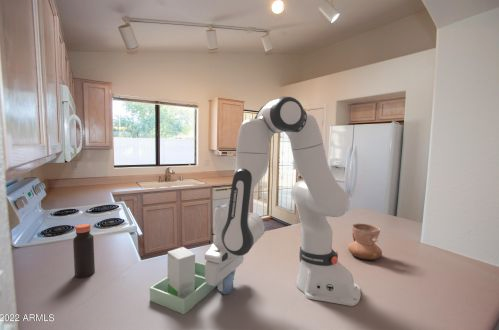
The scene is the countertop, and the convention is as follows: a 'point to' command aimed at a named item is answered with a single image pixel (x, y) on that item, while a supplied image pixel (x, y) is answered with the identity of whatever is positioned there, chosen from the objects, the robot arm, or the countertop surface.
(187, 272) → the skincare box
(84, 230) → the vinegar
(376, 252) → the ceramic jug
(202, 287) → the green divided tray
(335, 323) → the countertop surface
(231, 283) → the light blue rounded cone
